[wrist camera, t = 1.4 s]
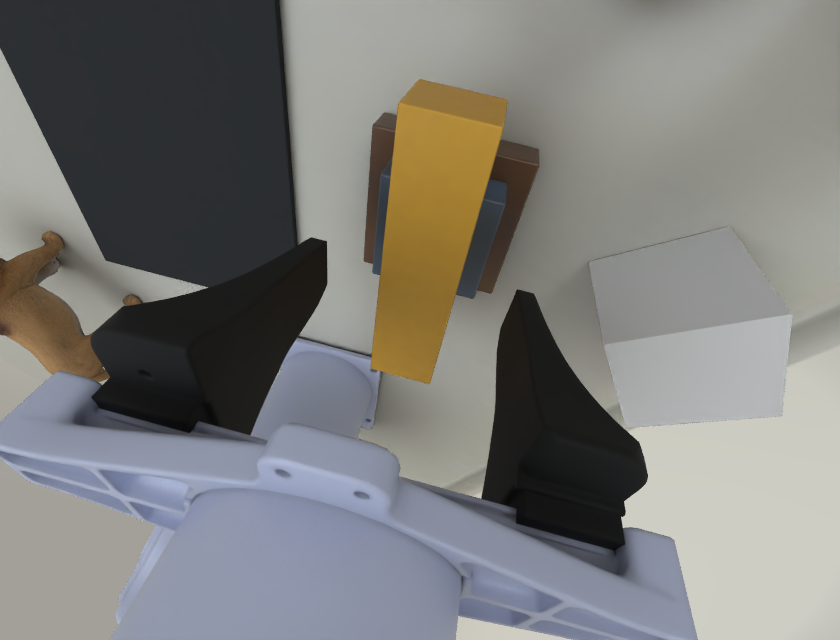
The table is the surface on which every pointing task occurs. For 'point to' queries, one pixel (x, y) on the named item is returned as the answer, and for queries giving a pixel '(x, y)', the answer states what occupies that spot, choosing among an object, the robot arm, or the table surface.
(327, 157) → the table surface
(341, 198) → the table surface
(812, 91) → the table surface
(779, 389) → the white cube
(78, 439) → the robot arm
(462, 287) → the brown blue stepped block
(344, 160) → the table surface
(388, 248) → the bar
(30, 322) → the lion figurine
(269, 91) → the mat
